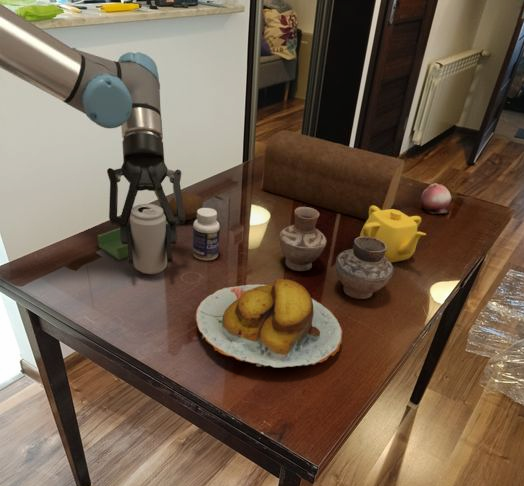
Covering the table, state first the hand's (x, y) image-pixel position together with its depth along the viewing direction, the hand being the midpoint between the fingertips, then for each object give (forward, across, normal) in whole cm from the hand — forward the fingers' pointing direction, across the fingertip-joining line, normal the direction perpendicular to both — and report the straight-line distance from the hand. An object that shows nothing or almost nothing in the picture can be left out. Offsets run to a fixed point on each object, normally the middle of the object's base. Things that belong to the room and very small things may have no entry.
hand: (150, 260), depth 90 cm
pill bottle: (-3, -12, -10) cm, 16 cm away
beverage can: (0, 0, -5) cm, 5 cm away
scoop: (-8, +2, -15) cm, 17 cm away
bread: (-24, -48, -31) cm, 62 cm away
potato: (-15, -9, -22) cm, 28 cm away
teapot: (-2, -53, -9) cm, 54 cm away
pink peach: (-19, -77, -26) cm, 83 cm away
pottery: (+4, -36, -3) cm, 36 cm away
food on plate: (+15, -19, +9) cm, 26 cm away
